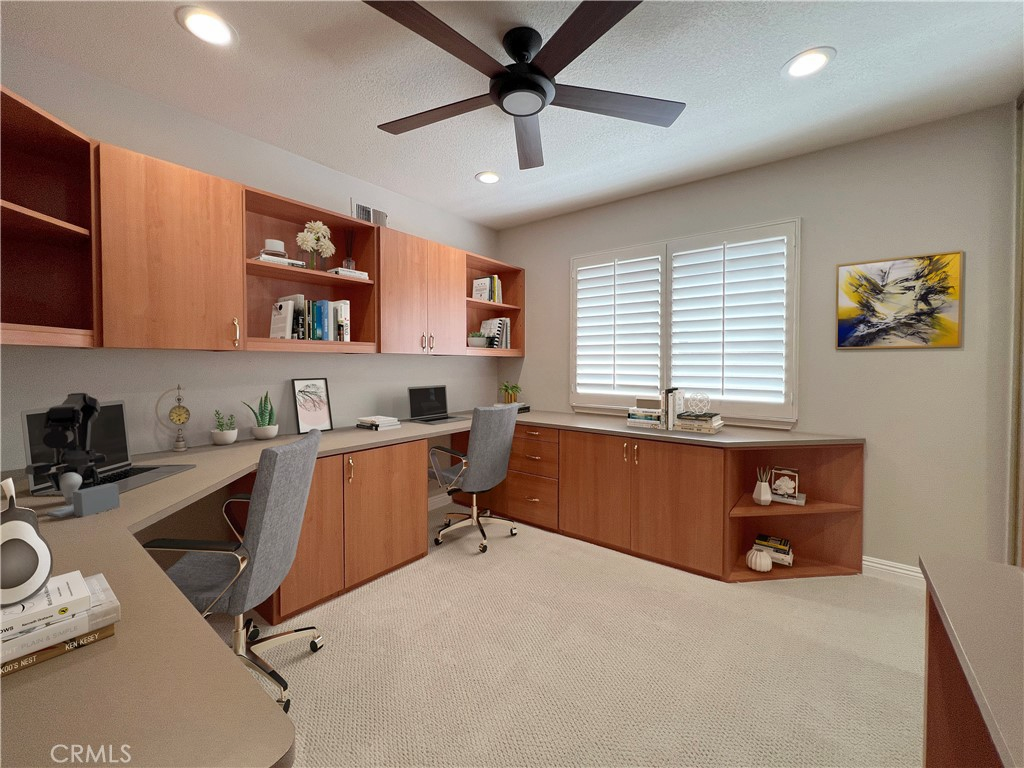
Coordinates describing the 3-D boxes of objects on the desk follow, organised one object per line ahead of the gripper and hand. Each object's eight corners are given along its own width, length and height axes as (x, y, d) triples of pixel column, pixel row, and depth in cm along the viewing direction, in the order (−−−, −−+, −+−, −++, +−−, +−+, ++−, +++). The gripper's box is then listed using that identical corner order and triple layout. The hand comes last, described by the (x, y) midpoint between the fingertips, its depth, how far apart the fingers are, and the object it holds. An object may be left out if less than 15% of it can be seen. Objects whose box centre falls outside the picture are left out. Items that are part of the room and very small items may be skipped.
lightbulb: (66, 507, 142) (64, 475, 142) (52, 506, 144) (50, 474, 143) (88, 501, 148) (86, 470, 148) (74, 500, 150) (72, 470, 149)
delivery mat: (46, 514, 144) (46, 511, 144) (80, 505, 152) (80, 503, 152) (61, 517, 140) (61, 514, 140) (96, 508, 149) (95, 505, 149)
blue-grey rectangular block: (73, 515, 142) (71, 491, 142) (110, 505, 152) (108, 483, 151) (83, 516, 141) (81, 493, 140) (119, 506, 150) (118, 484, 149)
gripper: (41, 450, 133) (45, 499, 134) (114, 439, 151) (117, 482, 152) (22, 448, 137) (26, 496, 138) (95, 437, 155) (98, 480, 156)
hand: (69, 488), depth 146 cm, fingers closed on lightbulb, 6 cm apart
